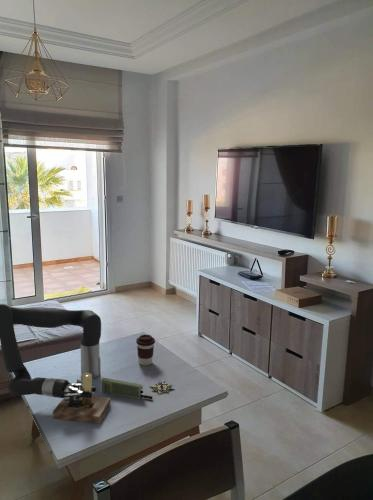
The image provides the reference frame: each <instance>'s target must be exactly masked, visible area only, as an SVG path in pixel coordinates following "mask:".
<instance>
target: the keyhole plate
mask: <svg viewBox="0 0 373 500" xmlns="http://www.w3.org/2000/svg"><path fill="white" fill-rule="evenodd" d="M73 398H75V397H73ZM61 399H62V400H60V401H59V403H58V404H57V405H56V407H55V408H54V409H53V410H52V418H53V419H55V420H63V421H73V422H79V423H88V424H89V423H91V424H95V425H96V424H97V425H98V424H99V425H100V423H101V422H102V420H103V418H104V417H105V415H106V413H107V412H108V409H109V408H110V407H111V397H104V396H95V395H92V404H91V405H90V406H91V407H92V408H91V407H85V406H83V404H82V398H79V400H73V401H65V398H61ZM70 403H73V404H82V406H79V407H71V406H69V405H70Z"/></svg>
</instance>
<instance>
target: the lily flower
mask: <svg viewBox="0 0 373 500" xmlns="http://www.w3.org/2000/svg"><path fill="white" fill-rule="evenodd" d="M162 382H163V383H165V382H166V383H167V381H166V380H165V381H164V380H161V379H159V382H156V383H158V385H161V386H160V388H161V389H162V390H161V392H162V391H164V392H165V393H167V392H169V391H170V390H169V389H168V387H172V384H171V385H170V386H167V385H168V384H169V383H167V384H162ZM156 383H155V384H154V385H156V386H158V385H157V384H156ZM162 385H166V386H167V388H166V390H164V387H163V386H162ZM150 388H152V387H150ZM154 390H155V391H156V392H157V394H158V395H161V394H163V393H164V392H162V393H160V394H159V392H158V390H159V389H158V387H154V388H152V392H155V391H154ZM159 391H160V390H159ZM169 393H170V392H169Z"/></svg>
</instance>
